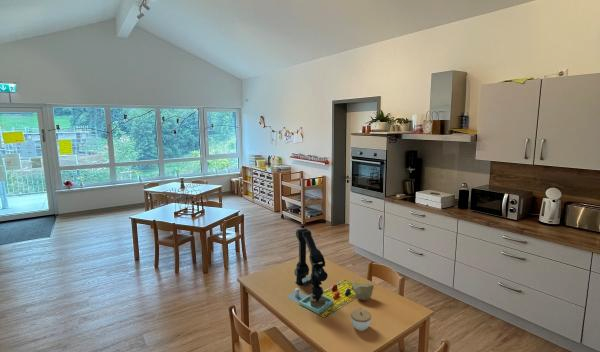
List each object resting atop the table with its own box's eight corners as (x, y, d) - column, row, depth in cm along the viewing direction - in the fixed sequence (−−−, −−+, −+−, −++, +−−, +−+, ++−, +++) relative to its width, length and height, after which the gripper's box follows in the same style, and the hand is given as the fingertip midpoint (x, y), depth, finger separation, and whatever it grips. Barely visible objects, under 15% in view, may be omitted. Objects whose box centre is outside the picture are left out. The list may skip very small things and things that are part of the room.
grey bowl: (375, 303, 203) (376, 286, 212) (370, 292, 198) (371, 276, 207) (352, 304, 210) (354, 288, 218) (346, 294, 204) (348, 278, 213)
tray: (314, 295, 213) (314, 291, 212) (333, 303, 203) (333, 300, 202) (298, 304, 202) (298, 301, 201) (317, 314, 192) (318, 310, 191)
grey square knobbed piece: (296, 291, 217) (296, 283, 216) (308, 297, 210) (308, 288, 209) (286, 297, 210) (285, 289, 209) (297, 303, 203) (297, 295, 202)
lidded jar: (348, 321, 185) (348, 306, 183) (367, 320, 186) (368, 305, 184) (353, 334, 174) (353, 318, 173) (373, 333, 175) (373, 317, 174)
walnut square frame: (309, 300, 205) (309, 294, 205) (324, 299, 206) (324, 294, 205) (310, 306, 198) (310, 300, 198) (325, 306, 199) (325, 300, 198)
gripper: (302, 266, 207) (302, 289, 210) (303, 281, 189) (303, 306, 192) (319, 266, 208) (319, 289, 211) (323, 280, 189) (323, 305, 192)
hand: (316, 297), depth 201 cm, fingers open, 9 cm apart
